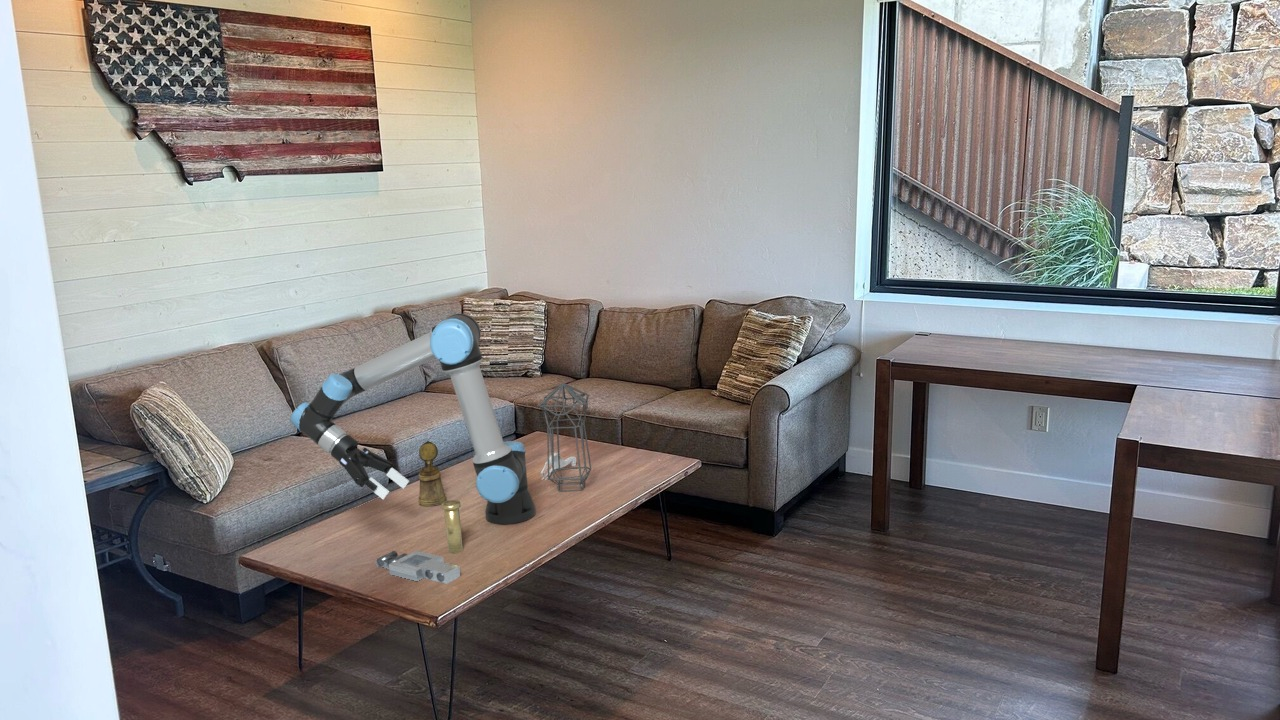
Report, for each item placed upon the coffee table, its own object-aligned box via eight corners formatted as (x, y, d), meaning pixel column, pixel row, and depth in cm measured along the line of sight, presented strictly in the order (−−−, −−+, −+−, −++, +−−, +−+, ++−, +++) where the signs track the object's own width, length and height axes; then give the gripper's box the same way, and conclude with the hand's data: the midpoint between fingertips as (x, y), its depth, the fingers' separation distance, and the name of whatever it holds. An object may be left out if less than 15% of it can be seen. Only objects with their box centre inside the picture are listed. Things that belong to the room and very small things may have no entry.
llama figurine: (551, 496, 318) (578, 462, 331) (541, 470, 312) (569, 437, 325) (547, 495, 319) (574, 462, 332) (537, 470, 313) (565, 437, 326)
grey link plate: (368, 569, 250) (367, 559, 249) (396, 555, 258) (395, 545, 257) (439, 587, 236) (438, 576, 235) (466, 572, 244) (465, 562, 244)
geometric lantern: (544, 495, 300) (535, 390, 294) (551, 481, 316) (543, 380, 310) (593, 493, 299) (584, 387, 293) (597, 478, 315) (590, 377, 309)
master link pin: (465, 546, 262) (460, 499, 259) (464, 553, 257) (459, 505, 254) (447, 548, 261) (442, 500, 259) (445, 555, 257) (441, 507, 254)
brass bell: (447, 491, 310) (441, 439, 306) (446, 504, 297) (441, 450, 293) (419, 494, 308) (414, 442, 304) (418, 508, 295) (412, 453, 291)
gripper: (352, 446, 277) (407, 490, 275) (309, 462, 252) (369, 511, 251) (365, 427, 276) (421, 471, 274) (324, 441, 251) (384, 489, 249)
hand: (396, 490), depth 262 cm, fingers open, 13 cm apart
